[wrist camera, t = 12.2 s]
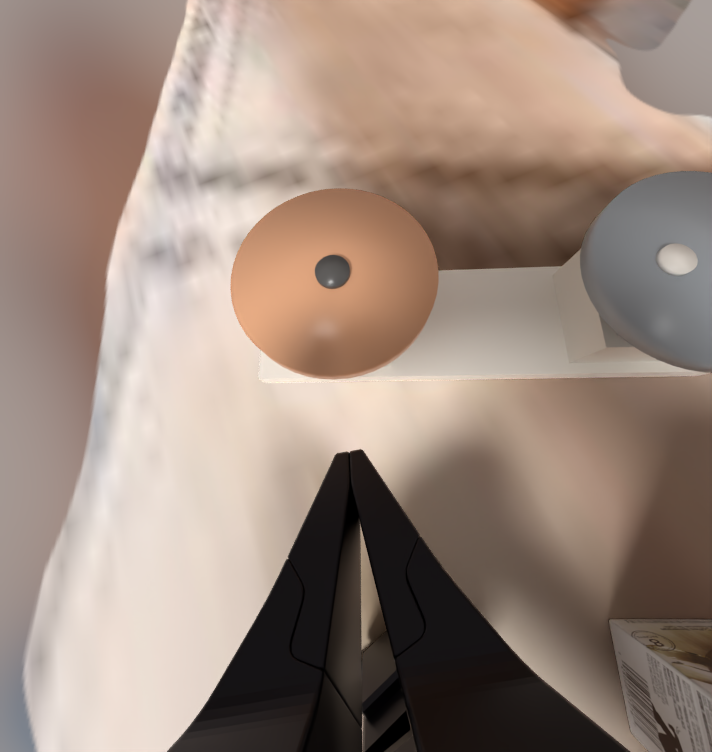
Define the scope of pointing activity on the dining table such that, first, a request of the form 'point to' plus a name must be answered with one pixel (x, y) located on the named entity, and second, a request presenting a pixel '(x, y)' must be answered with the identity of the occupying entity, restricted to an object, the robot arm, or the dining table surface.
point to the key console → (508, 333)
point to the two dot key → (656, 267)
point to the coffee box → (666, 681)
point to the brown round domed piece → (335, 283)
